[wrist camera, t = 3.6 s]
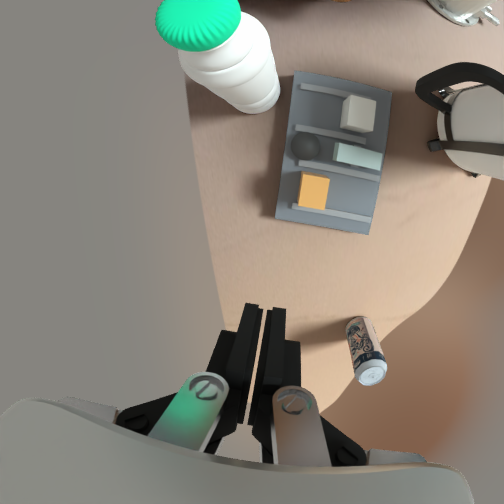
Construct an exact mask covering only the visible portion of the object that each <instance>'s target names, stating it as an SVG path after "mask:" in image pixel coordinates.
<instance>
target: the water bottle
mask: <svg viewBox="0 0 504 504" xmlns="http://www.w3.org/2000/svg"><path fill="white" fill-rule="evenodd" d="M155 20H156V23H155V25H156V26H157V30H158V32H159V34H160V36H161V37H162V38H163V39H164V40H165V41H166V42H167V43H168V44H170V45H172V46H174V47H176V48H178V55H179V60H180V64H181V66H182V68H183V70H184V71H185V73H186V74H187V75H188V76H189V77H190V78H191V79H192V80H194V81H195V82H197V83H199V84H201V85H203V86H205V87H206V88H207V89H209V90H210V91H212V92H213V93H214V94H216V95H218V96H219V97H221V98H223V99H225V100H226V101H227V102H228V103H229V104H231V105H233V106H234V107H235V108H236V109H238V110H239V111H241V112H244V113H248V114H258V113H262V112H265V111H267V110H269V109H270V108H271V107H272V106H273V105H274V104H275V103H276V102H277V100H278V98H279V95H280V84H279V80H278V75H277V72H276V68H275V62H274V57H273V54H272V51H271V48H270V39H269V36H268V33H267V31H266V29H265V28H264V26H263V25H262V24H261V23H260V22H259V21H258V20H257V19H256V18H254V17H253V16H251V15H249V14H247V13H244V12H241V9H240V5H239V3H238V1H237V0H164V1H163V2H162V3H161V5H160V6H159V7H158V11H157V12H156V18H155Z"/></svg>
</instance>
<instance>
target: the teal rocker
mask: <svg viewBox="0 0 504 504" xmlns="http://www.w3.org/2000/svg"><path fill="white" fill-rule="evenodd" d="M382 155H383V154H382V153H378V152H375V151H371V150H367V149H363V148H359V147H355V146H351V145H347V144H343V143H335V147H334V153H333V160H335V161H339V162H344V163H349V164H353V165H358V166H362V167H367V168H371V169H375V170H379V171H380V167H381V161H382Z"/></svg>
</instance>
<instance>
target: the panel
mask: <svg viewBox="0 0 504 504" xmlns="http://www.w3.org/2000/svg"><path fill="white" fill-rule="evenodd" d="M350 95H354V96H358V97H362V98H366V99H370V100H374V101H376V110H375V119H374V127H373V131H371V132H366V133H360V132H355V131H351V130H347V129H342V128H340V122H341V114H342V106H343V101H344V100H345V99H347V98H348V97H349V96H350ZM391 99H392V92H389V91H386V90H383V89H379V88H376V87H372V86H369V85H365V84H361V83H357V82H353V81H349V80H345V79H340V78H335V77H330V76H325V75H320V74H314V73H308V72H302V71H295V72H294V80H293V88H292V96H291V104H290V112H289V120H288V127H287V135H286V142H285V150H284V157H283V164H282V172H281V179H280V186H279V193H278V200H277V206H276V213H275V219H281V220H287V221H293V222H299V223H305V224H311V225H316V226H322V227H328V228H333V229H339V230H344V231H350V232H355V233H360V234H365V235H368V234H369V230H370V226H371V222H372V218H373V213H374V209H375V204H376V199H377V194H378V189H379V184H380V179H381V174H382V168H383V162H384V156H385V149H386V142H387V135H388V127H389V119H390V110H391ZM335 143H343V144H347V145H351V146H355V147H359V148H363V149H367V150H371V151H375V152H378V153H382V154H383V155H382V161H381V167H380V171H379V170H375V169H371V168H367V167H362V166H358V165H353V164H349V163H344V162H339V161H335V160H333V153H334V147H335ZM302 171H306V172H312V173H317V174H323V175H326V176H327V177H328V178H329V179H330V182H329V188H328V193H327V199H326V204H325V210H320V209H314V208H309V207H303V206H298V199H297V197H298V191H299V185H300V178H301V172H302Z"/></svg>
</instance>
